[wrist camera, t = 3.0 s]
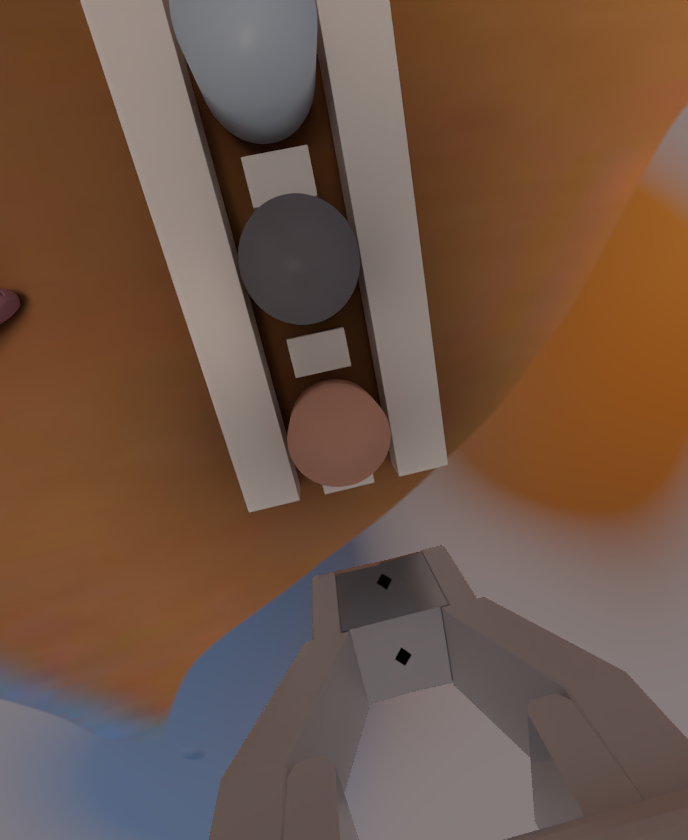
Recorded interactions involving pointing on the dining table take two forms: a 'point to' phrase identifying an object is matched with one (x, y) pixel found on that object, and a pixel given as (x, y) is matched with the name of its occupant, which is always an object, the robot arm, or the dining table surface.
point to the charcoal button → (298, 259)
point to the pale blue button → (251, 62)
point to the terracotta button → (337, 433)
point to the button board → (266, 178)
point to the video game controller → (8, 304)
